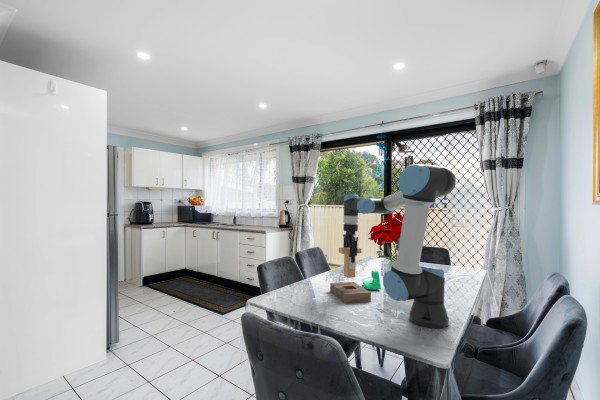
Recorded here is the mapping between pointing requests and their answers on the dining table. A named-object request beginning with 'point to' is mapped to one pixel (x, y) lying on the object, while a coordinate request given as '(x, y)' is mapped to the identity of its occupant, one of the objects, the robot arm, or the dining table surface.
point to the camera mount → (375, 283)
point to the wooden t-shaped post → (346, 251)
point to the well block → (350, 292)
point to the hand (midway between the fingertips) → (349, 267)
